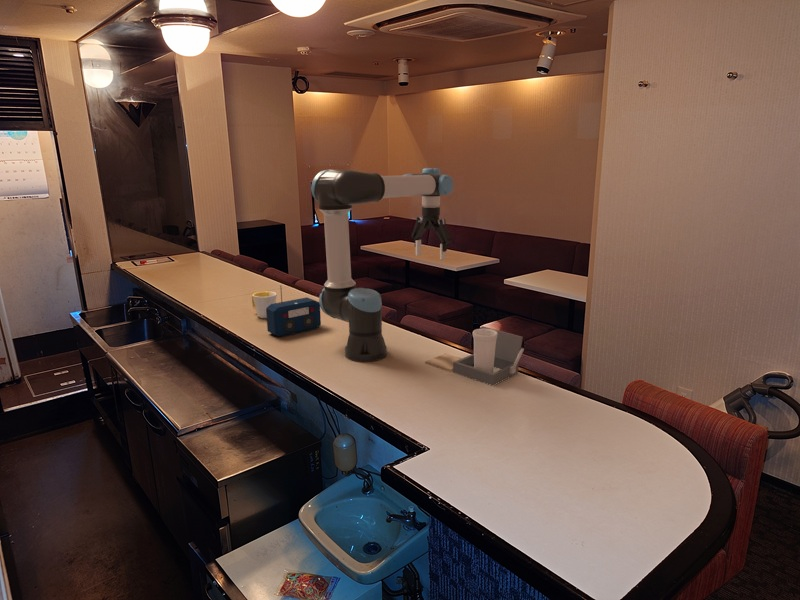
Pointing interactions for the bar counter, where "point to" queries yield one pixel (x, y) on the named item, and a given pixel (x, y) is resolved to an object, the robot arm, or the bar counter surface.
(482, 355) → the cup
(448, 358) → the trivet
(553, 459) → the bar counter surface
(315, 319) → the radio
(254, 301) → the mug
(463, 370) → the grey caddy tray
